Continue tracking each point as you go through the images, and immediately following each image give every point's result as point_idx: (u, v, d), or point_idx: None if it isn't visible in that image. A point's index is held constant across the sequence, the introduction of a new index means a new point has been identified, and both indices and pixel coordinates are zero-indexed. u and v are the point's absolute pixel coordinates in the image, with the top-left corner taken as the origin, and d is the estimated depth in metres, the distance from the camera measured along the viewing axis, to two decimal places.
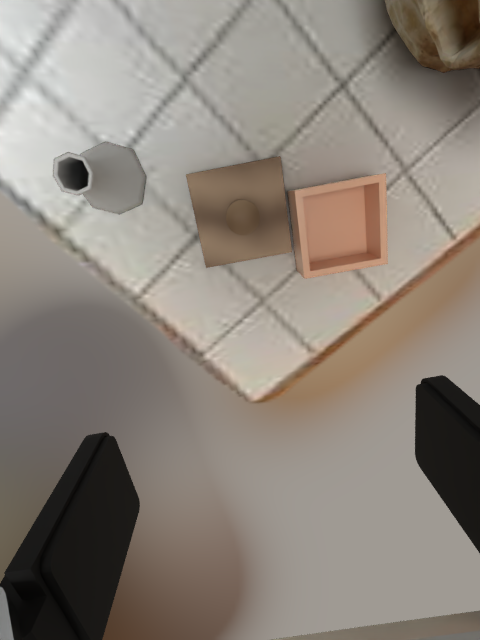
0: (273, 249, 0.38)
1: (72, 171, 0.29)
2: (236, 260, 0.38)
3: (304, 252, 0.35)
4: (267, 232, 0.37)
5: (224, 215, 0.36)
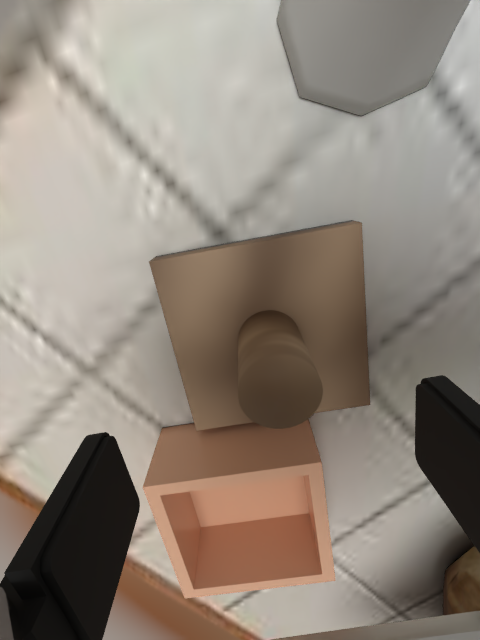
0: (198, 400, 0.18)
1: None
2: (172, 329, 0.17)
3: (198, 484, 0.17)
4: (233, 388, 0.18)
5: (269, 305, 0.17)
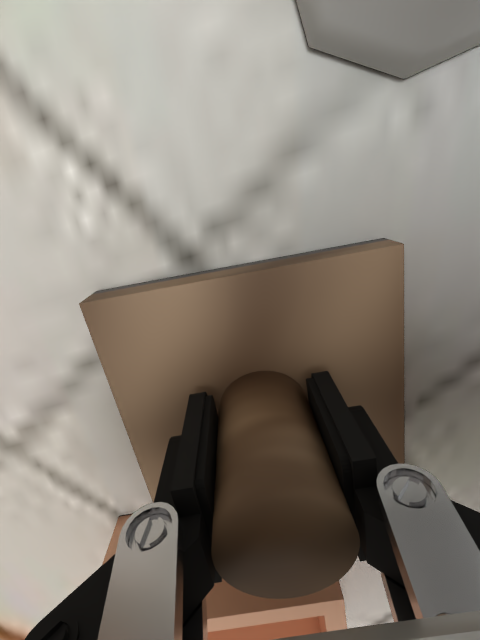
0: None
1: None
2: (120, 399, 0.12)
3: None
4: None
5: (263, 364, 0.11)
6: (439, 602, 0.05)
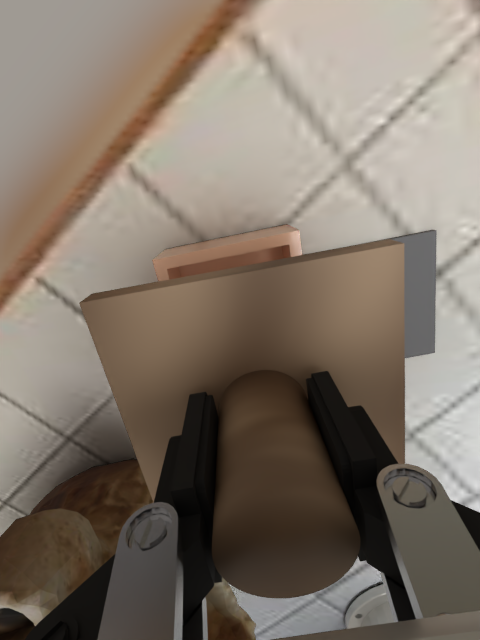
0: None
1: None
2: (120, 399, 0.11)
3: None
4: None
5: (263, 363, 0.11)
6: (439, 602, 0.05)
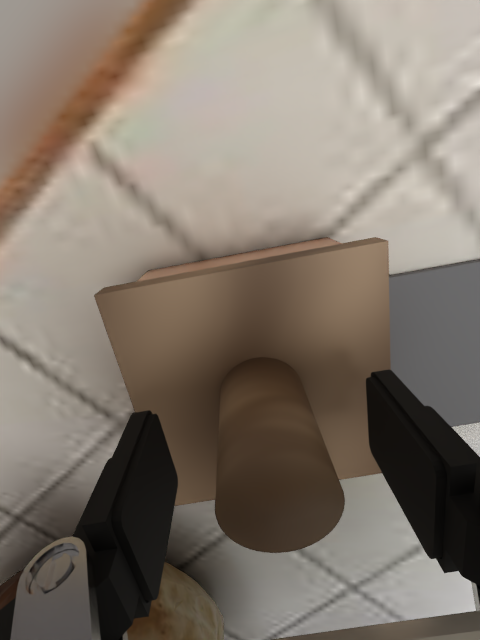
0: None
1: None
2: (130, 384, 0.13)
3: None
4: (215, 455, 0.14)
5: (261, 351, 0.12)
6: None
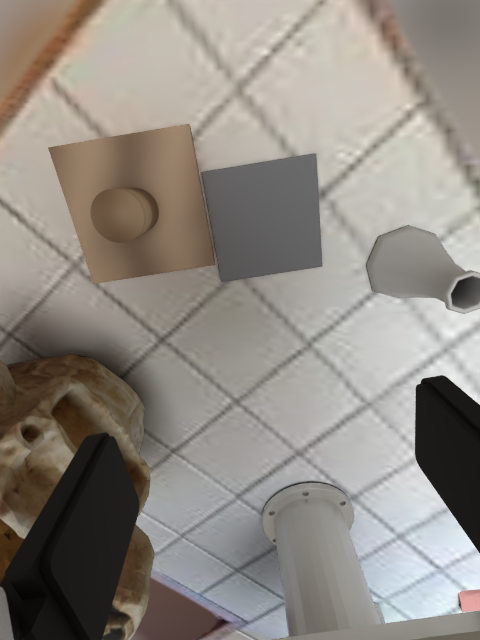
0: (93, 258, 0.26)
1: (457, 286, 0.27)
2: (68, 201, 0.25)
3: None
4: (116, 248, 0.26)
5: (134, 184, 0.24)
6: None
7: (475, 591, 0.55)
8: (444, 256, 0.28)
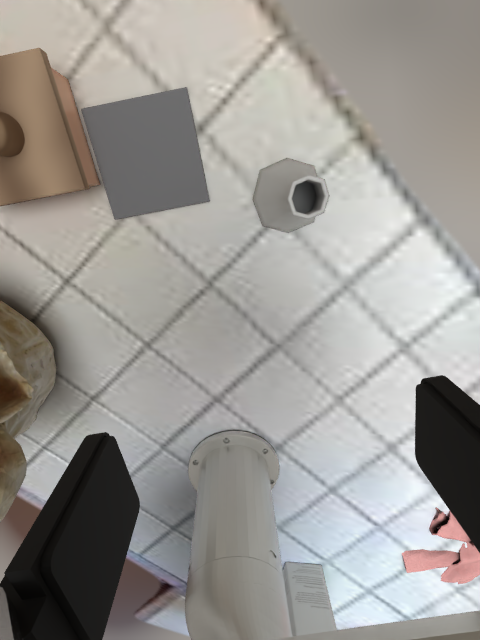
0: None
1: (315, 201, 0.28)
2: None
3: None
4: None
5: None
6: None
7: (418, 551, 0.54)
8: (305, 176, 0.29)
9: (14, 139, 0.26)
